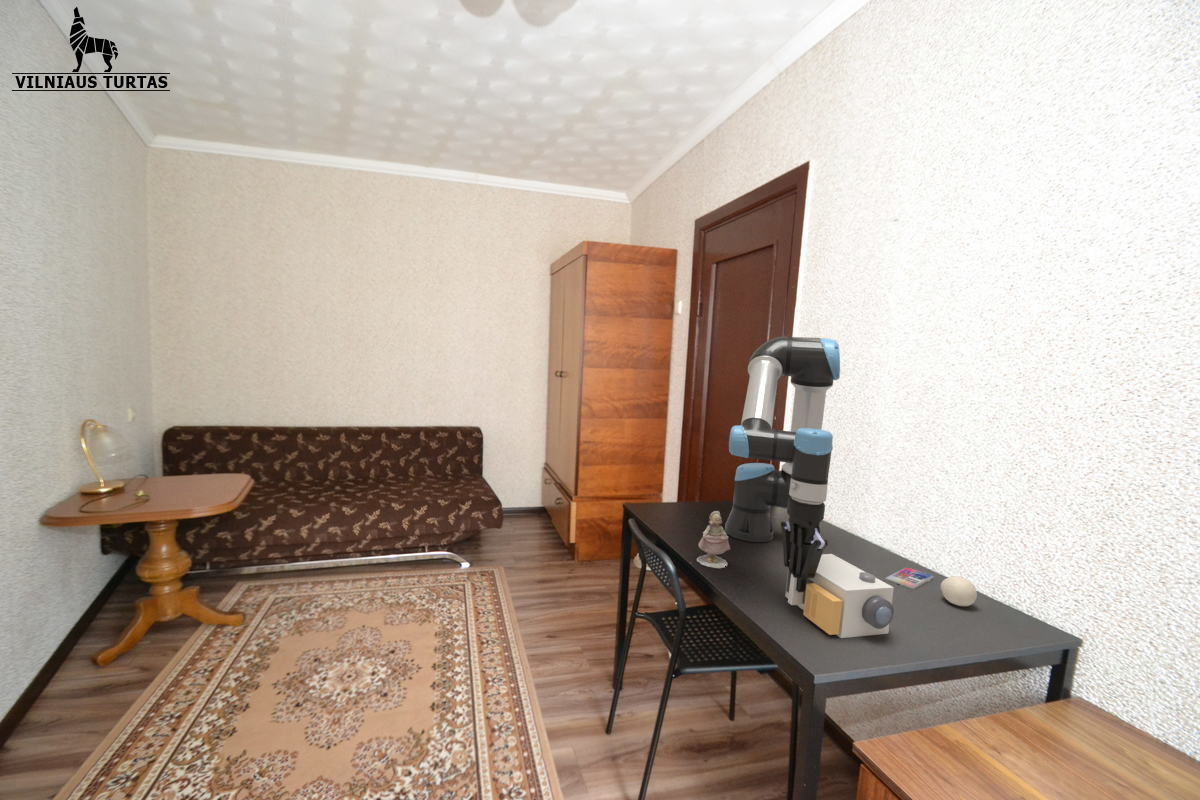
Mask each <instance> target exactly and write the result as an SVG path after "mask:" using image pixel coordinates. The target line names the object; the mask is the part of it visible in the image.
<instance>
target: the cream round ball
mask: <svg viewBox="0 0 1200 800" xmlns="http://www.w3.org/2000/svg"><path fill="white" fill-rule="evenodd" d="M940 590H941V592H942V595H943V596H944V598H945V599H946V600H947V602H948V603H951V604H953V605H955V606H958V607H969V606H971V605H973V604H974V603H975V601H976V600H977V597H978V593H977V588H976V587H975V585H974V584H973V583H972V582H971V581H970V580H969V579H967V578H964V577H962V576H957V575H956V576H949V577H947V578H944V579H943V580H942V581H941V583H940Z"/></svg>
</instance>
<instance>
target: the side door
mask: <svg viewBox="0 0 1200 800" xmlns="http://www.w3.org/2000/svg"><path fill="white" fill-rule="evenodd" d="M841 609H842V600H840V599H839V598H837V597H836V596H834V595H833V594H831V593H830V592H828V591H826V590H825V589H823V588H822V587H820V586H819V585H817V584H816V583H811V584H807V586H806V595H805V604H804V610H803V614H802V615H803V616H804V617H806V618H807V619H808V620H809V621H811V622H812V623H813V624H815V625H816V626H817V627H818V628H819V629H821V630H823V631H824V632H825V633H826V634H828V635H829V636H832V635H836V634H839V627H840V618H841Z"/></svg>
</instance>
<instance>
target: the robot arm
mask: <svg viewBox="0 0 1200 800" xmlns="http://www.w3.org/2000/svg"><path fill="white" fill-rule="evenodd" d="M840 357H841V356H840V347H839V343H838V341H837V340H836V339H831V338H824V337H807V336H806V337H802V336H801V337H799V336H778V337H774V338H772V339H770V340H767V341H766V342H764V343H763V344H761V345H760V346H759V347H758V348H757V349H756V350H755V351H754V352H753V354H752V355H751V357H749V361H748V365H747V373H748V375H749V379H748V385H747V391H746V395H745V399H744V400H745V402H744V406H743V412H742V416H741V417H742V418H741V423H740V425H733V426H732V427H731V429H730V432H729V439H728V450H729V453H730V454H731V455H732V456H736V457H741V458H744V459H756V460H764V461H772V462H773V461H775V462H781V463H783V464H782V465H781V470H778V469H775V466H774V465H773V464H771V463H767V462H751V463H744V464H740V465H739V466H737V468H736V470H735V476H734V491H733V499H732V508H731V510H730V512H729V515H728V517H727V519H726V522H725V524H724V525H725V526H724V531H725V533H726V534H727V536H730V537H732V538H735V539H738V540H741V541H745V542H751V543H769V542H772V540H773V539H774V529H773V524H772V520H771V515H770V511H771V507H773V508H774V507H775V508H779V509H786V514H787V515H788V520H787V521H781V522H780V527H781V532H782V549H783V565H784V567H787V569H788V568H789V572H790V578H789V586H790V588H789V597H788V598H787V599H788V600H787V603H788V604H790V606H797V605H802V600H803V592H804V591H805V586H806V579H807V578H814V577H815V574H816V571H817V568H818V565H819V562H820V559H821V556H822V554H824V550H825V549H826V547H827V546H828V544H829V543H828V540H827V539H823V538H822V536H821V528H820V523H821V522H822V521H823V520H824V519H825V518H824V517H825V510H826V504H825V502H826V501H827V495H828V494H827V493H828V484H829V473H830V466H831V458H832V451H833V448H834V446H833V439H834V436H833V434H832V432H830V431H828V430H824V429H822V428H823V420H824V412H825V404H826V398H827V391H828V390H829V389H831V388H832V387H833V385H834V381H838V380H839V379H840V377H841V358H840ZM781 376H784V377H790V384H791V385H792V386H793V387H794V389H795V390H794V397H793V407H792V416H791V426H790V431H789V430H782V429H781V430H779V429H773V422H774V411H775V404H776V397H777V386H778V380H779V379H780V378H781ZM789 560H790V561H789Z"/></svg>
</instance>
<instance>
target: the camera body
mask: <svg viewBox="0 0 1200 800" xmlns="http://www.w3.org/2000/svg"><path fill="white" fill-rule="evenodd" d="M789 561H790V560H789ZM786 576H787V577H786V585H785V598H787V599H788V597H789V588H790V586H789V578H790V572H789V568H788V567H787V575H786ZM811 583H816V584H817V585H819V586H820V587H822V588H823V589H825V590H826V591H828V592H830V593H831V594H833V595H834V596H836V597H837V598H839V599H840V600H842V609H841V618H840V627H839V634H835V635H836V636H837V637H839V638H840V639H846V638H847V639H848V638H856V637H857V638H858V637H866V636H878V635H879V636H880V635H886V634H887V635H888V634H889V631H890V623H891V622H892V620H893V617H894V606H893V597H894V589H895V588H894V586H892V585H890V584H888V583H887V582H884V581H883V580H881V579H879V578H877V577H876V576H875V574H872V573H869V572H866V571H864V570H863V569H860V568H859V567H858V566H855V565H853V564H851V563H850V562H847V561H846V560H844V559H842V558H840V557H838V556H837V555H834V554H833V553H822V556H821V559H820V562H819V565H818V568H817V571H816V574H815V577H814V578H807V579H806V586H807V584H811ZM806 586H805V591H804V592H803V600H802V605H796V606H798V608H800V609H801V610H802V611H804V604H805V595H806Z"/></svg>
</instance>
